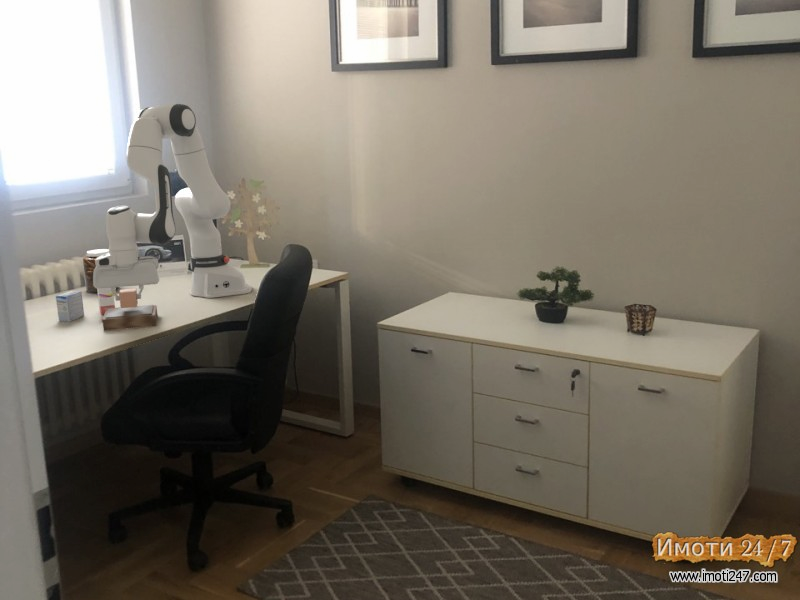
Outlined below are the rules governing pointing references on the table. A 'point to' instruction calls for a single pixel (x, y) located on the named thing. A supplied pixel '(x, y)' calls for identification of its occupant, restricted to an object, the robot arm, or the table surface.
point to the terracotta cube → (128, 298)
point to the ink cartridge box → (105, 299)
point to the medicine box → (70, 306)
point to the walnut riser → (130, 317)
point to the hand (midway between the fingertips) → (128, 299)
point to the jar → (91, 268)
